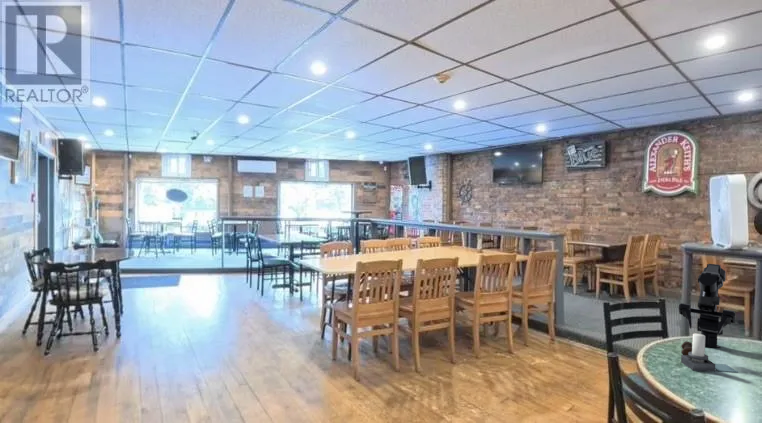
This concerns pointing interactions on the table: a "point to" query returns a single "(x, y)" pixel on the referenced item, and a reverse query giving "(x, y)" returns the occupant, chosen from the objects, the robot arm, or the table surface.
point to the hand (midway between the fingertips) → (704, 330)
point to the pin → (698, 348)
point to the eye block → (697, 364)
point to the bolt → (686, 348)
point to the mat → (724, 368)
